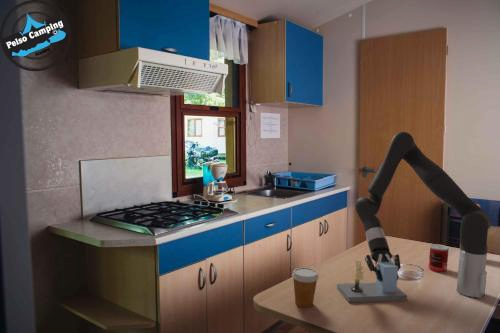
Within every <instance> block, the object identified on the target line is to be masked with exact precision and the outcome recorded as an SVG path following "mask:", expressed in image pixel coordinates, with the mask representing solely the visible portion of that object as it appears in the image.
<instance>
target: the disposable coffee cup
mask: <svg viewBox="0 0 500 333" xmlns="http://www.w3.org/2000/svg"><path fill="white" fill-rule="evenodd" d="M291 275H292V278H293V280H292V281H293V289H294V290H293V291H294V300H295V301H294V302H295V305H296V306H298V307H301V308H311V307H312V306H313V305H314V301H315V294H316V290H317V289H316V288H317V282H318V279H319V277H320V276H319V275H318V271H317V270H315V269H313V268H310V267H297V268H294V270H293V272H292V274H291Z"/></svg>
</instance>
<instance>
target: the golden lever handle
mask: <svg viewBox="0 0 500 333" xmlns="http://www.w3.org/2000/svg"><path fill="white" fill-rule="evenodd" d="M360 280H361V281H363V280H364V268H363V264H362V260H354V282H353V283H354V288H355V289H359V283H360Z"/></svg>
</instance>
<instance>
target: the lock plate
mask: <svg viewBox="0 0 500 333" xmlns="http://www.w3.org/2000/svg"><path fill="white" fill-rule="evenodd" d="M354 283H355V282H353V283H337V285H336V289H337V291H339V293H340V294H341V295H342V296H343V298H344V299H345V300H346V302H348V303H367V302H368V303H369V302H371V303H372V302H393V301H394V302H397V301H399V302H400V301H402V302H404V301H407V300H408V295H407V294H406V293H405V292H404V291H403V290H401V289H400V288H399V287H398V286H397V287H396V292H381V291H380V290H379V289H378V288H377V287H376V282H364V283H363V282H361V283H360V282H359V289H355V288H354Z"/></svg>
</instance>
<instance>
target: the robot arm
mask: <svg viewBox="0 0 500 333" xmlns="http://www.w3.org/2000/svg"><path fill="white" fill-rule="evenodd" d="M402 160H404V161H405V162H406V163H407V164H408V165H409V166H410V167H411V168H412V169H413V171H414V172H415V174H416V175H417V176H418V177H419V178H418V179H420V180H421V181H422V183H423V184H424V185H425V186H426V188H428V189H429V191H431V193H432V194H434V196H436V197H437V198H438V199H440V200H442V201H443V202H444V203H446V204H448V206H449V207H452V208H453V210H454V211H455V212H456V213H457V214H458V216H460V218H461V221H460V223H461V224H460V229H459V230H460V231H459V253H460V256H459V258H458V259H459V260H458V270H457V280H456V292H457V291H458V292H459V293H458V292H457V293H458V294H460V293H461V294H460V295H462V294H463V295H462V296H465V295H466V296H465V297H468V296H471V297H470V298H474V297H477V298H476V299H479V298H480V297H481V298H482V297H484V296H485V295H484V294H486V286H487V285H486V284H487V275H488V273H487V271H486V267H487V257H488V232H489V229H490V228H491V226H492V220H491V217H490V215H489V214H488V213H487V212H486V211H485V210H483V209H482V207H481V206H480V207H479V206H477V205H476V204H477V203H475V202H474V201H473V200H472V199H470V197H468V195H467V194H466V193H465V192H464V191H463V189H462V188H461V187H460V185H458V184H457V183H456V181H455V180H453V178H452V177H451V176H450V175H449V174H448V173H447V172H446V171H445V170H444V169H443V168H442V167H441V166H439V164H437V163H435V162H434V161H433V160H431V159H430V158H428V157H427V156H426V155H425V154H424V152H422V151H421V149H420V148H419V147H418V145H417V144H416V143H415V139H414V137H413V136H412V134H410V133H409V132H406V131H400V132H397V133H395V135H394V136H393V137H392V139H391V141H390V145H389V148H388V150H387V152H386V155H385V158H384V159H383V161H382V163H381V165H380V167H379V168H378V170H377V172H376V173H375V175H374V177H373V178H372V180H371V183H370V184H369V185H368V188H367V192H368V193H369V198H368V197H365V196H364V197H363V196H362V197H359V198H357V199H356V201H355V211H356V213H357V215H358V217H359V219H360V222H361V223H362V224H363V229H364V232H365V237H366V238H365V239H366V242H367V245H368V249H369V252H370V255H369V254H367V255H365V257H364V260H365V263H366V265H367V267H368V269H369V271H370V272H374V273H375V276H376V277H377V279H378V280H379V282H381V281H382V280H383V278H382V275H381V271H380V267H379V263H381V262H390V263H393V264H395V265H396V266H398V271H399V270H400V269H401V261H400V260H401V259H400V255H399V254H398V253H396V254H393V253H392V252H391V251H390V250H391V249H390V247H389V244H388V240H387V237H386V233H385V232H384V230H383V226H382V224H381V221H380V219H379V218H378V217H377V216H376V215H377V214H378V213H379V211H380V208H381V206H382V201H383V198H384V195H385V194H386V192H387V190H388V188H389V186H390V184H391V182H392V180H393V178H394V175H395V172H396V171H397V168H398V166H399V164H400V163H401V161H402ZM373 261H374V262H373ZM399 278H400V276H399V273H398V274H397V281H398V280H399ZM483 295H484V296H483ZM481 298H480V299H481Z"/></svg>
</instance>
